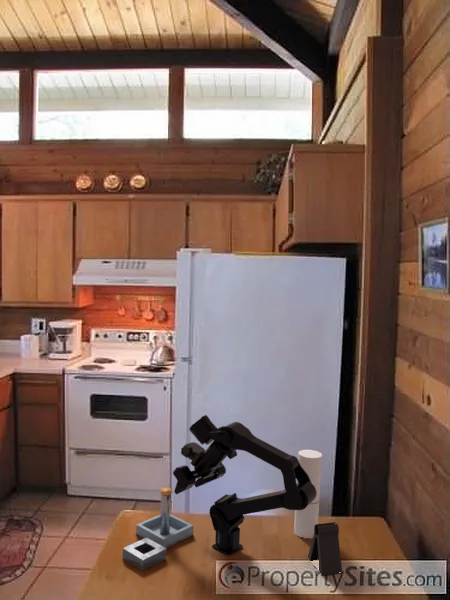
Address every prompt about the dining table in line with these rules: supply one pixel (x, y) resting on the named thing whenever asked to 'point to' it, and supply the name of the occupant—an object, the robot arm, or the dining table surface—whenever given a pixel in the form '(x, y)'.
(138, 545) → the pin collar
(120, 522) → the dining table surface
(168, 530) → the pin
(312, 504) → the cylindrical container
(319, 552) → the phone stand
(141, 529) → the tray
